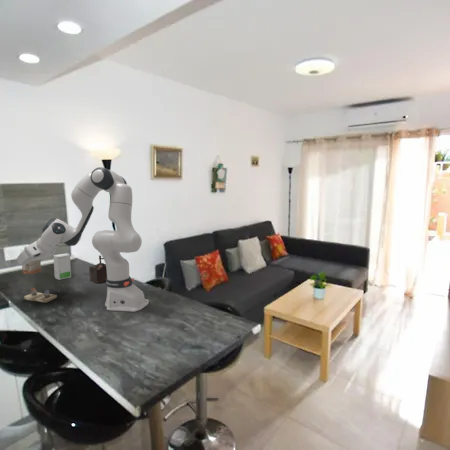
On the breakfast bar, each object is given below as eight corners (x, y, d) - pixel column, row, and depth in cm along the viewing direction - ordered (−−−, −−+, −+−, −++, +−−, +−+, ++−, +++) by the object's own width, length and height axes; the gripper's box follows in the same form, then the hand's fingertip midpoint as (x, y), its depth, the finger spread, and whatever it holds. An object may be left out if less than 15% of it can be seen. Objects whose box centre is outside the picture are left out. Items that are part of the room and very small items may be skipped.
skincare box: (58, 280, 191) (57, 256, 188) (54, 278, 194) (52, 255, 192) (71, 277, 197) (70, 254, 195) (67, 275, 201) (65, 252, 199)
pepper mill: (98, 284, 185) (97, 256, 182) (89, 280, 191) (87, 253, 189) (120, 278, 197) (119, 251, 194) (111, 274, 204) (110, 249, 201)
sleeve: (41, 271, 163) (39, 255, 162) (31, 274, 157) (29, 258, 156) (32, 270, 165) (31, 254, 163) (22, 273, 159) (21, 257, 158)
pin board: (56, 297, 163) (56, 288, 162) (46, 302, 156) (45, 293, 156) (35, 294, 167) (34, 285, 166) (24, 299, 160) (23, 289, 160)
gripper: (55, 239, 166) (43, 254, 170) (22, 246, 147) (9, 264, 151) (62, 247, 166) (50, 262, 170) (30, 256, 146) (16, 273, 150)
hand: (30, 263), depth 160 cm, fingers closed on sleeve, 6 cm apart
